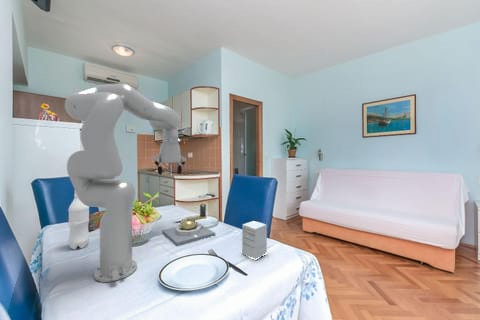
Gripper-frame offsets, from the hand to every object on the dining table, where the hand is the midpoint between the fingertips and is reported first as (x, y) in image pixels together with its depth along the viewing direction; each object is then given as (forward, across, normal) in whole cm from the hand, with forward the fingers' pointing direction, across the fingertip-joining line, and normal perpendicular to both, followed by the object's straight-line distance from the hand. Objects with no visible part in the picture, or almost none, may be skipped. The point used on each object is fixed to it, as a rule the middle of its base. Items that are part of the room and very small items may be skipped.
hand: (169, 174), depth 106 cm
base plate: (+31, -8, +6) cm, 32 cm away
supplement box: (+31, -21, +43) cm, 57 cm away
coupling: (+29, -10, +7) cm, 31 cm away
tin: (+31, +30, -32) cm, 54 cm away
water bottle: (+31, +37, -7) cm, 49 cm away
